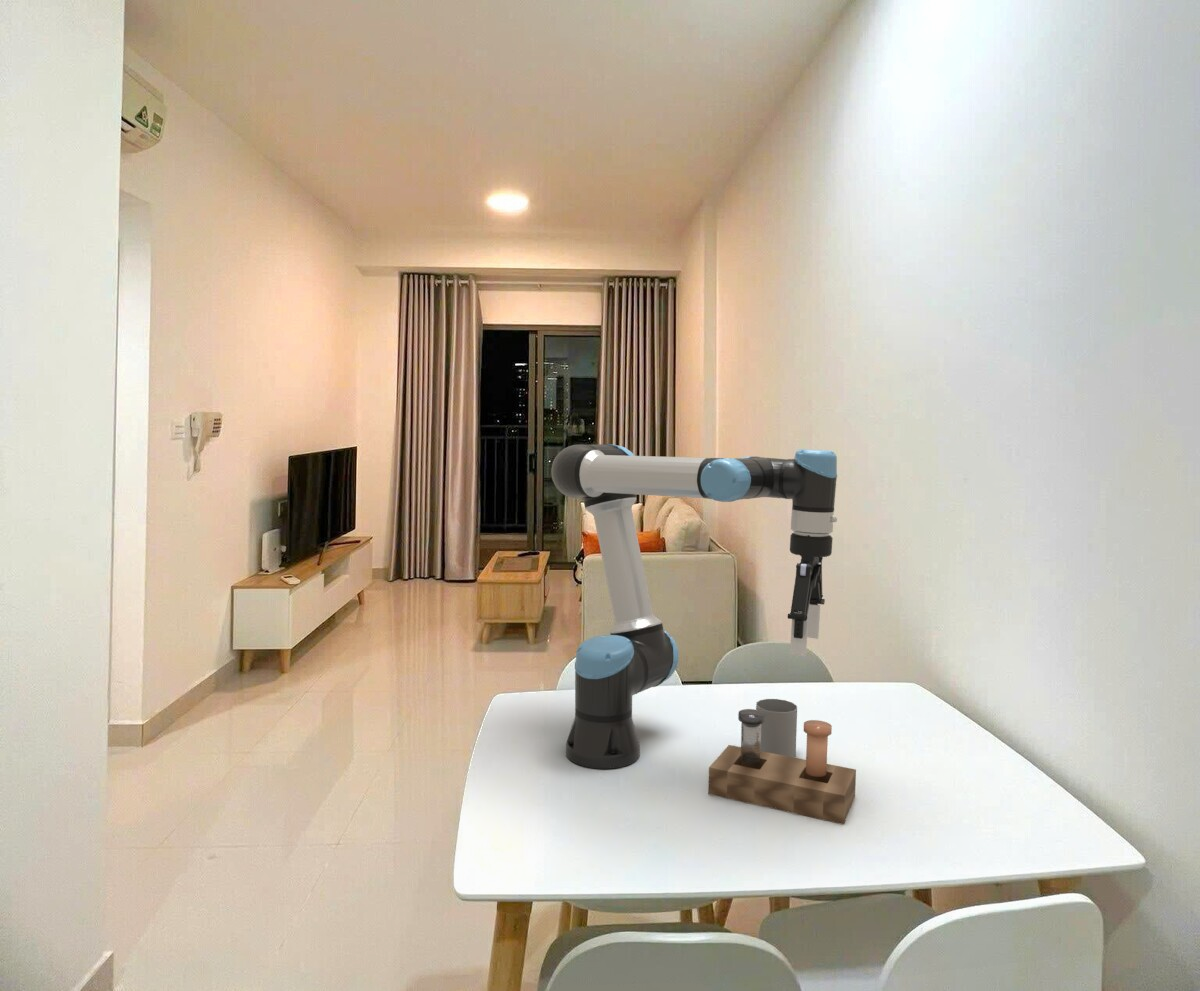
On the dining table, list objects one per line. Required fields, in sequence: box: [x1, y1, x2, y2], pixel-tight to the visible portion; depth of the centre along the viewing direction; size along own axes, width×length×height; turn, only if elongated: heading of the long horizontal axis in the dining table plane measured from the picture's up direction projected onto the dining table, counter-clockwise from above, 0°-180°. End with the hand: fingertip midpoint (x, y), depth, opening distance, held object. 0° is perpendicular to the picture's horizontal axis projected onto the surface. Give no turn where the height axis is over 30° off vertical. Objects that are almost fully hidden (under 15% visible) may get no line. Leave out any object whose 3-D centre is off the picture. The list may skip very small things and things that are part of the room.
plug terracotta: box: [803, 719, 833, 777], centre depth 140 cm, size 5×5×9 cm
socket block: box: [707, 744, 857, 825], centre depth 143 cm, size 24×12×5 cm, turn 63°
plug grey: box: [737, 708, 765, 763], centre depth 146 cm, size 5×5×9 cm
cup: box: [755, 698, 798, 758], centre depth 163 cm, size 8×8×10 cm
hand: (804, 645), depth 147 cm, fingers open, 13 cm apart
